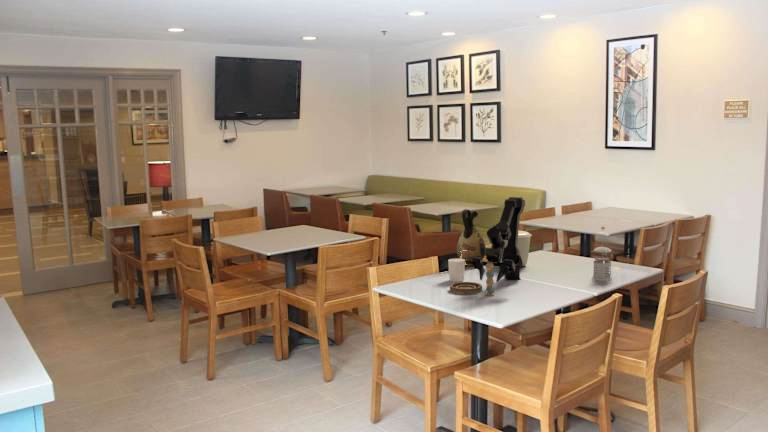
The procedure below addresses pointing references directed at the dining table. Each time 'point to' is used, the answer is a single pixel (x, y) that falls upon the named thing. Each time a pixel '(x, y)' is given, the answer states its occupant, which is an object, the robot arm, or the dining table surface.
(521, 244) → the canister
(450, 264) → the white cup
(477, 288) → the groove tray
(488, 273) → the post
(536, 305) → the dining table surface
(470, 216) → the ceramic jug
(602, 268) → the french press
